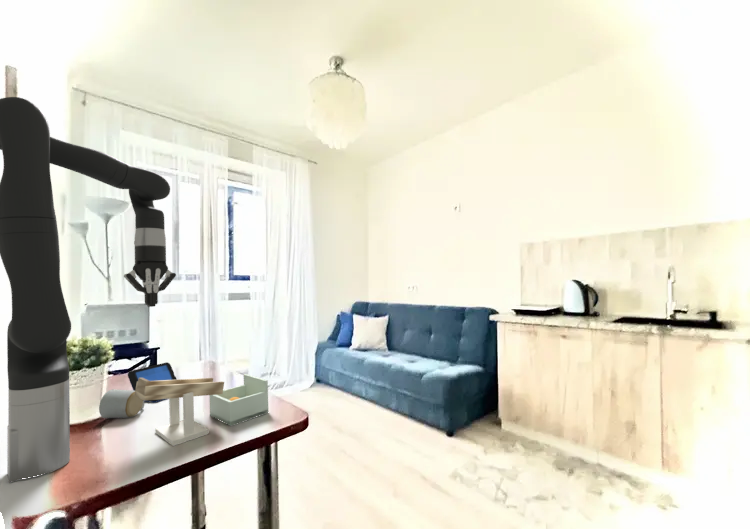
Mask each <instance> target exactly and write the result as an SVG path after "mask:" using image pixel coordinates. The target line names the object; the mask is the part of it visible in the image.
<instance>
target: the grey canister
mask: <svg viewBox="0 0 750 529" xmlns="http://www.w3.org/2000/svg"><path fill="white" fill-rule="evenodd" d="M134 394H135V391H134V390H133V389H131V390H130V389H115V388H114V389H110V390H107V391H106V392H105V393H104V395H103V396H102V398H100V402H99V405H98V406H99V408H98V410H99V411H98V412H99V415H100V416H101V418H103V419H128V418H134V417H135V416H136V415H138V414H139V412H140V411H141V410H144V408H145V402H144V401H143V400H142V399H140V398H139V397H137V396H136V395H134Z"/></svg>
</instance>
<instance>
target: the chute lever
mask: <svg viewBox="0 0 750 529" xmlns="http://www.w3.org/2000/svg"><path fill="white" fill-rule="evenodd" d="M224 387H225V381H214V378H213V377H199V378H183V379H179V378H178V379H177V380H158V381H149V380H147V379H145V378H139V379H138V382H137V384H136V389H135V394H134V395H136V396H137V397H139V398H140V399H142V400H144V401H143V402H146V400H158V399H164V400H169V399H170V398H179V399H182V398H183V394H186V393H190V392H193V397H202V396H210V395H217V394H223V390H224Z"/></svg>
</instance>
